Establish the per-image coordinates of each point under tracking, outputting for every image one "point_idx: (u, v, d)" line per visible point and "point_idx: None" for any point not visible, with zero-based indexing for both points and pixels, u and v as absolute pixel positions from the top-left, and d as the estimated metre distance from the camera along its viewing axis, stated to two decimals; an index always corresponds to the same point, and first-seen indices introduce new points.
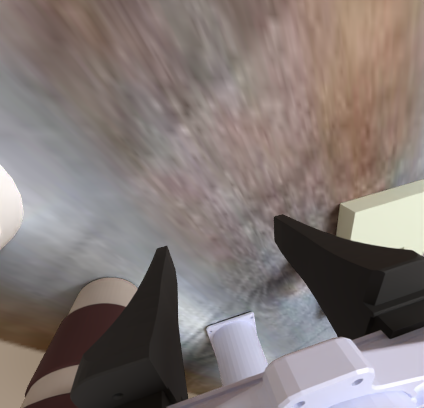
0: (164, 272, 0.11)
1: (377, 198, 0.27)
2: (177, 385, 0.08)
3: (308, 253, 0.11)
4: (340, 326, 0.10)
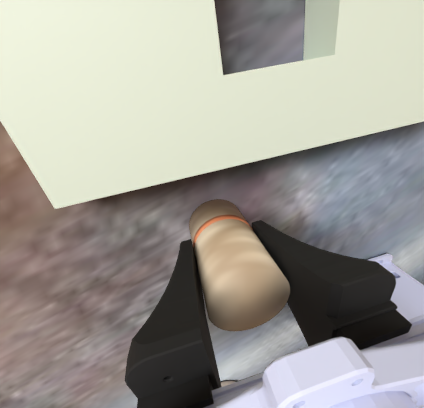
0: (193, 264, 0.11)
1: None
2: (216, 372, 0.08)
3: (281, 261, 0.11)
4: (310, 337, 0.09)
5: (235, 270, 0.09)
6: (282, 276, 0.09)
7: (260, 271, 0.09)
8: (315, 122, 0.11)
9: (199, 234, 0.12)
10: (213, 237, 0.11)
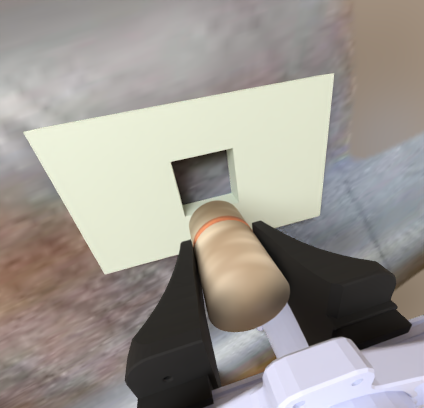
0: (193, 264, 0.11)
1: None
2: (216, 372, 0.08)
3: (281, 261, 0.11)
4: (310, 337, 0.09)
5: (237, 271, 0.09)
6: (283, 278, 0.09)
7: (262, 272, 0.09)
8: None
9: (200, 234, 0.12)
10: (214, 238, 0.11)
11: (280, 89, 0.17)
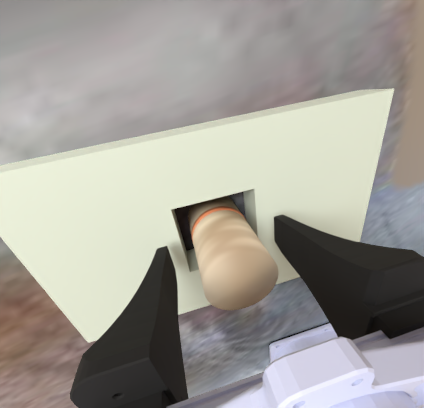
0: (164, 272, 0.11)
1: None
2: (177, 385, 0.08)
3: (308, 253, 0.11)
4: (340, 326, 0.10)
5: (229, 252, 0.10)
6: (271, 259, 0.10)
7: (252, 253, 0.10)
8: None
9: (197, 223, 0.14)
10: (210, 225, 0.12)
11: (322, 112, 0.12)
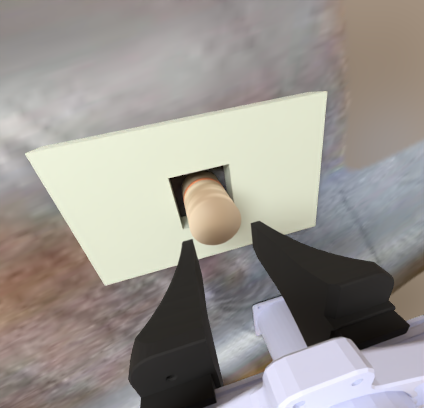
0: (195, 263, 0.11)
1: None
2: (218, 371, 0.08)
3: (279, 262, 0.11)
4: (308, 337, 0.09)
5: (206, 200, 0.15)
6: (235, 206, 0.15)
7: (221, 200, 0.15)
8: (231, 239, 0.23)
9: (187, 189, 0.19)
10: (196, 188, 0.17)
11: (275, 108, 0.17)
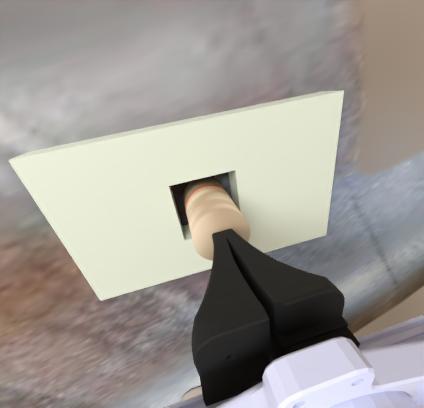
0: None
1: None
2: None
3: (243, 272, 0.10)
4: None
5: (212, 212, 0.13)
6: (244, 219, 0.14)
7: (228, 212, 0.13)
8: None
9: (190, 197, 0.17)
10: (199, 197, 0.16)
11: (286, 108, 0.16)
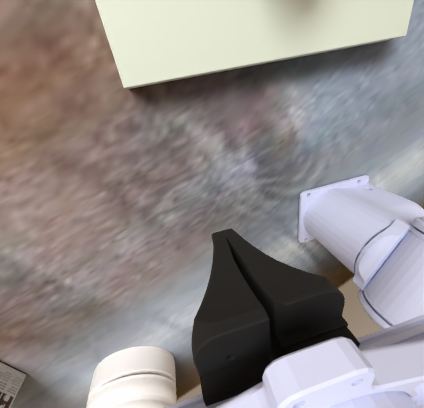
0: None
1: None
2: None
3: (244, 272, 0.10)
4: None
5: None
6: None
7: None
8: (299, 34, 0.16)
9: None
10: None
11: None
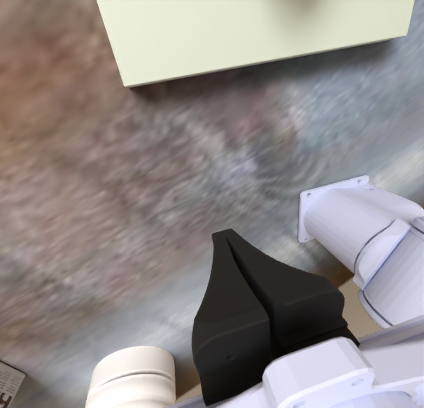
0: None
1: None
2: None
3: (243, 272, 0.10)
4: None
5: None
6: None
7: None
8: (300, 33, 0.16)
9: None
10: None
11: None
